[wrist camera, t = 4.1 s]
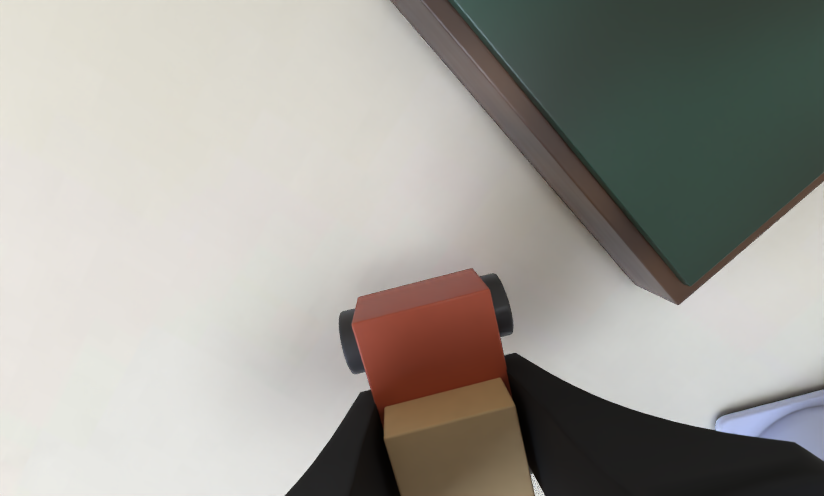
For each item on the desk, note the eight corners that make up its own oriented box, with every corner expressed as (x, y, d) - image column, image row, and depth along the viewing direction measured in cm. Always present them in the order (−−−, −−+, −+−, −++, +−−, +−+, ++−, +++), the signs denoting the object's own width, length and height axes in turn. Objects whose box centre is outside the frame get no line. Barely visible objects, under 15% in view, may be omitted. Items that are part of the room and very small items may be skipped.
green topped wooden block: (845, 102, 16) (948, 87, 13) (635, 285, 17) (686, 310, 14) (610, -270, 13) (674, -396, 10) (373, -19, 14) (370, -67, 11)
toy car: (527, 450, 13) (583, 563, 10) (397, 484, 13) (400, 610, 10) (487, 256, 12) (532, 298, 8) (339, 294, 12) (316, 353, 8)
